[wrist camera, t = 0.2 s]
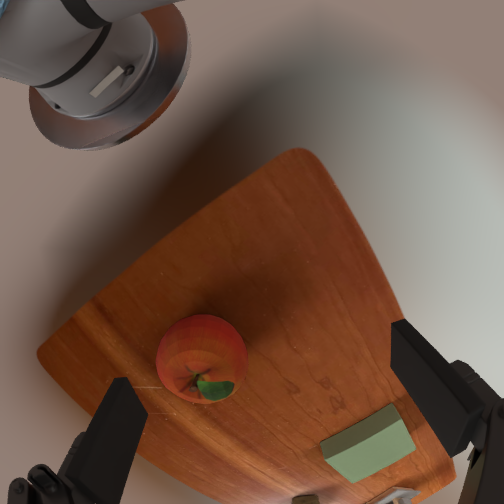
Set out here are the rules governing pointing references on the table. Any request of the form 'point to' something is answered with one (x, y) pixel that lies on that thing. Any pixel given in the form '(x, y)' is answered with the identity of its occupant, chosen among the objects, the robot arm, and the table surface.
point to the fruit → (202, 359)
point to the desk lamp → (395, 496)
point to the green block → (369, 445)
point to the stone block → (306, 500)
